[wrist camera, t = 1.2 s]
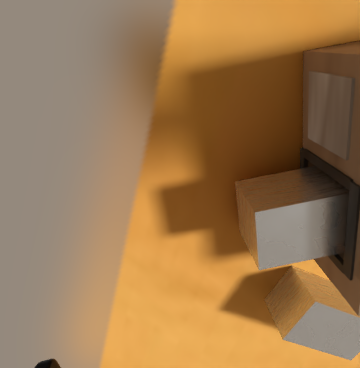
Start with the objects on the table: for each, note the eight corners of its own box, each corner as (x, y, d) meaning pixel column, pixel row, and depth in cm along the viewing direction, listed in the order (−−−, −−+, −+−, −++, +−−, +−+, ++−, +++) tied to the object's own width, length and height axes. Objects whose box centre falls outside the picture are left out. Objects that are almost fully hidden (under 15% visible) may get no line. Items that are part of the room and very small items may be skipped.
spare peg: (352, 288, 27) (384, 326, 23) (324, 319, 28) (351, 360, 25) (290, 264, 25) (315, 301, 21) (263, 298, 26) (282, 339, 23)
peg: (339, 160, 20) (382, 186, 16) (335, 212, 22) (373, 246, 18) (234, 181, 20) (255, 212, 16) (239, 232, 22) (258, 270, 18)
